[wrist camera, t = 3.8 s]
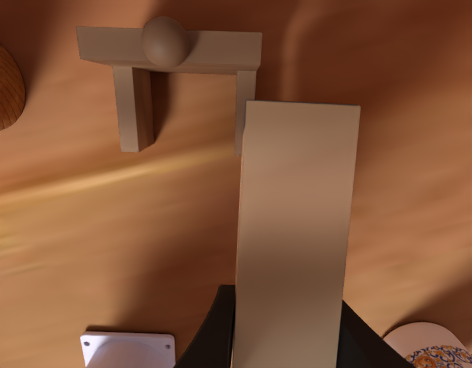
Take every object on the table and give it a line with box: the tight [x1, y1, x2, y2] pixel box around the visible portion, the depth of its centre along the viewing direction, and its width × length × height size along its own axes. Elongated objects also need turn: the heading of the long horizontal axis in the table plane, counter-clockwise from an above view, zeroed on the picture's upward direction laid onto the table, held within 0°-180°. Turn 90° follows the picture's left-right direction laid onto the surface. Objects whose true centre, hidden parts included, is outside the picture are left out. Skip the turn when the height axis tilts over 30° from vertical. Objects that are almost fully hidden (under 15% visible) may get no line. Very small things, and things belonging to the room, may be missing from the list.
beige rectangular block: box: [231, 99, 361, 368], centre depth 11 cm, size 12×4×5 cm, turn 177°
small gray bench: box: [76, 16, 262, 156], centre depth 14 cm, size 6×8×8 cm
